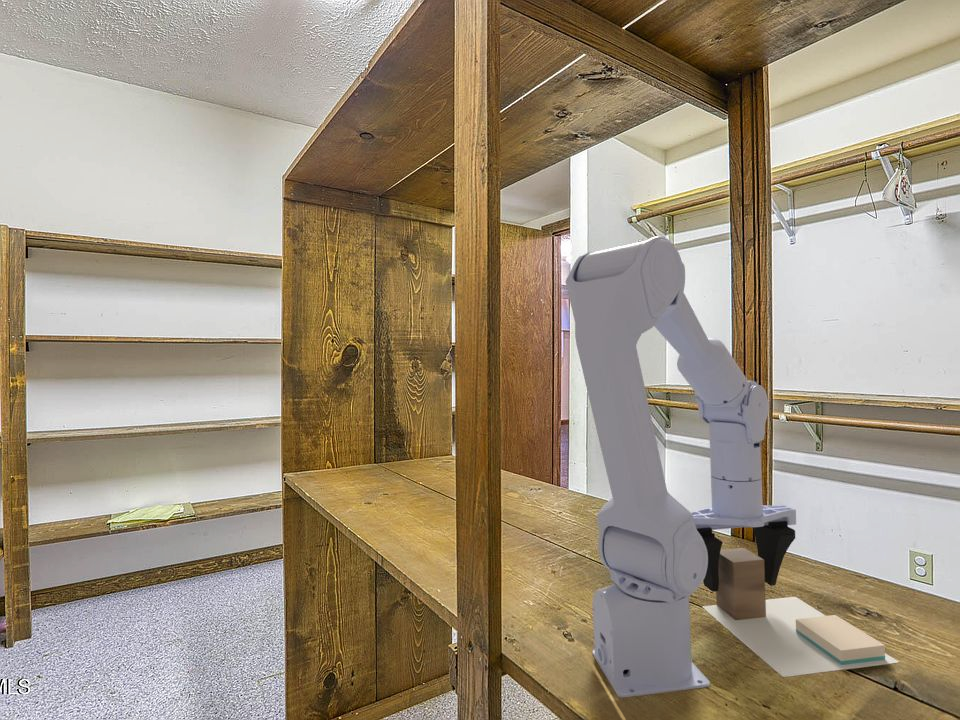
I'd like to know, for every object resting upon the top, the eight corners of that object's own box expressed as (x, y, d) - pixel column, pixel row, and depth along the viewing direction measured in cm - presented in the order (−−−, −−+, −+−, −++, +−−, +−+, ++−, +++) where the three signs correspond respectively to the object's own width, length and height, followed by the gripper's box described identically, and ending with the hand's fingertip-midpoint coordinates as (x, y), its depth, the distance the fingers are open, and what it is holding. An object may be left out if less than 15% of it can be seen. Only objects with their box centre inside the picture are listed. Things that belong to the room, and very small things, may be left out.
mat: (783, 680, 53) (782, 676, 53) (701, 609, 68) (701, 606, 68) (899, 666, 54) (899, 662, 54) (795, 599, 69) (795, 596, 69)
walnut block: (716, 604, 68) (714, 550, 68) (745, 601, 68) (743, 547, 68) (735, 620, 64) (733, 562, 64) (766, 616, 64) (764, 559, 64)
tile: (796, 632, 61) (841, 665, 54) (795, 619, 61) (841, 650, 54) (835, 627, 61) (885, 659, 55) (835, 614, 61) (884, 645, 55)
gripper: (698, 488, 61) (702, 605, 61) (813, 479, 63) (816, 593, 63) (668, 474, 68) (672, 580, 68) (772, 467, 70) (776, 569, 70)
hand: (739, 585), depth 66 cm, fingers open, 7 cm apart
